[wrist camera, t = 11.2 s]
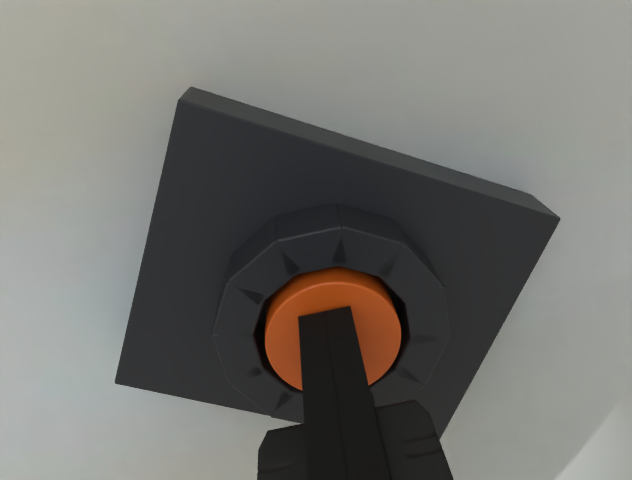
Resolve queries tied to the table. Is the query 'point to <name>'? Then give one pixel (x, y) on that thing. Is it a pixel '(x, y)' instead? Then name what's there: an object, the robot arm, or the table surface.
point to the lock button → (326, 294)
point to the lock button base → (317, 257)
